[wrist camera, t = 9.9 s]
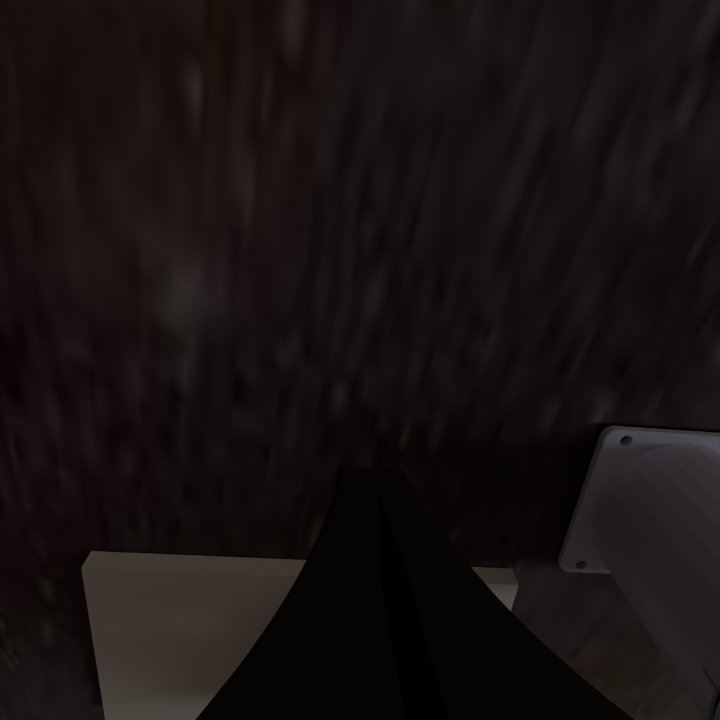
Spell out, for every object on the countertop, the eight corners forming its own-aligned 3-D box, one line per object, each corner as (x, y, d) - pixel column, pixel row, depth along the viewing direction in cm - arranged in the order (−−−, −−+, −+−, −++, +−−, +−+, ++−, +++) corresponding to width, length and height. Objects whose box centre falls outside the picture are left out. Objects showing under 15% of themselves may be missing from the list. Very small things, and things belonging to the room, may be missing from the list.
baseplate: (511, 568, 25) (518, 584, 24) (470, 710, 29) (474, 729, 28) (91, 550, 23) (81, 567, 22) (113, 704, 27) (106, 723, 26)
